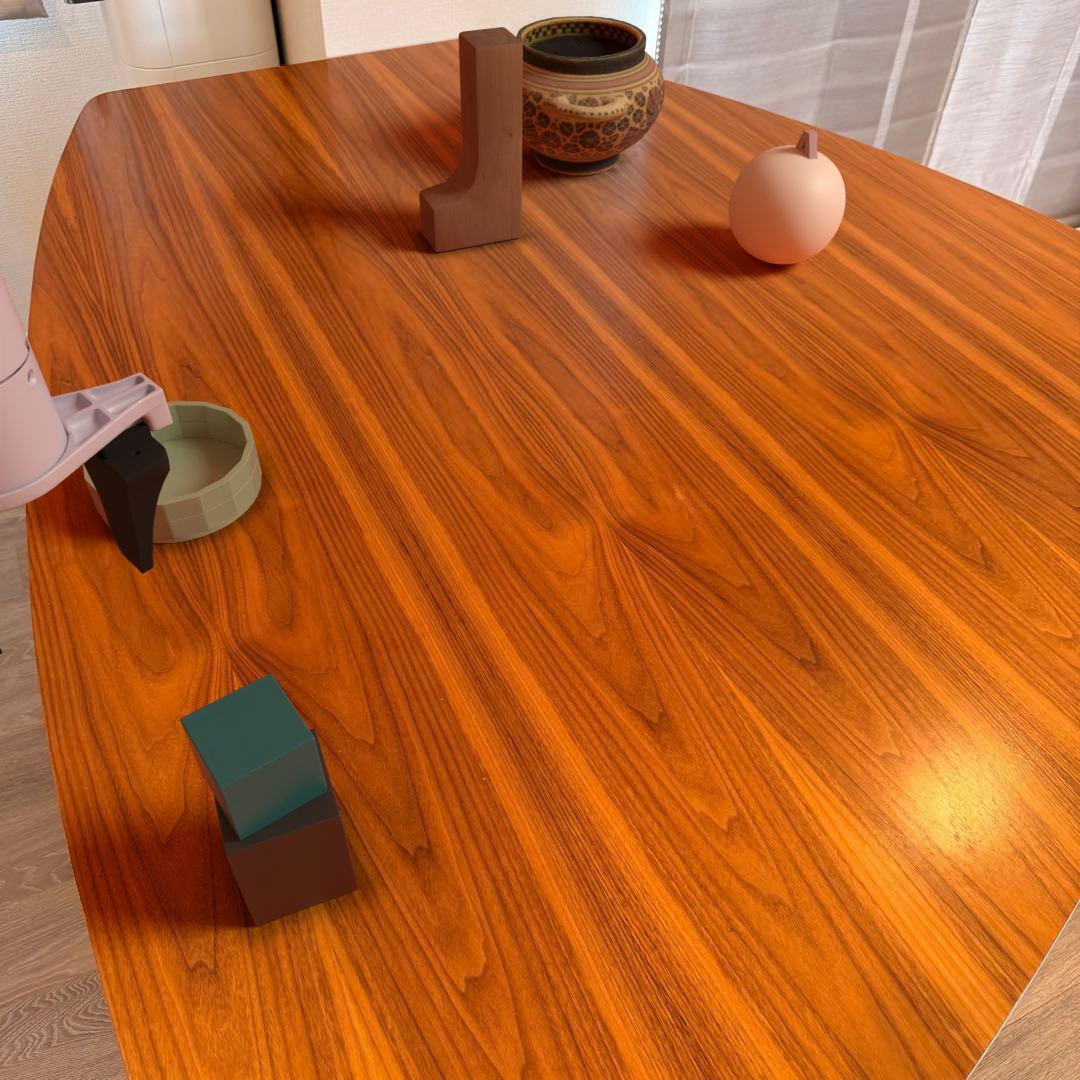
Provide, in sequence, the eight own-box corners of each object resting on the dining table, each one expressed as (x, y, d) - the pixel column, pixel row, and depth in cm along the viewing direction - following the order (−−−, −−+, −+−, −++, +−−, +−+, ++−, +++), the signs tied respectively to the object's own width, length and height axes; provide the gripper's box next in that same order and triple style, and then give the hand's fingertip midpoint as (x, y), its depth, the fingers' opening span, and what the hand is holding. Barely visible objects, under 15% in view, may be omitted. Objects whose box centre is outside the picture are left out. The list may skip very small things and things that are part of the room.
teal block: (240, 842, 42) (219, 789, 39) (201, 772, 44) (178, 718, 41) (328, 791, 43) (315, 737, 40) (286, 727, 46) (270, 671, 43)
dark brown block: (255, 927, 46) (225, 855, 41) (237, 837, 49) (206, 760, 44) (359, 889, 47) (341, 816, 42) (334, 804, 51) (314, 727, 46)
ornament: (849, 255, 94) (882, 130, 85) (793, 295, 88) (823, 165, 80) (759, 221, 99) (782, 99, 90) (701, 257, 93) (719, 130, 85)
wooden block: (435, 254, 92) (423, 53, 80) (420, 233, 95) (406, 36, 83) (522, 238, 95) (524, 41, 82) (505, 218, 98) (505, 25, 85)
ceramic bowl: (517, 138, 119) (484, 7, 109) (661, 102, 116) (640, -35, 106) (518, 234, 102) (478, 89, 91) (687, 194, 99) (665, 41, 89)
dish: (105, 561, 63) (89, 522, 60) (92, 459, 70) (77, 420, 68) (276, 519, 66) (267, 480, 64) (246, 425, 73) (237, 387, 71)
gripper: (77, 259, 43) (157, 490, 52) (-300, 397, 35) (-127, 638, 45) (163, 321, 39) (231, 556, 49) (-235, 488, 32) (-63, 728, 41)
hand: (65, 601), depth 47 cm, fingers open, 7 cm apart
